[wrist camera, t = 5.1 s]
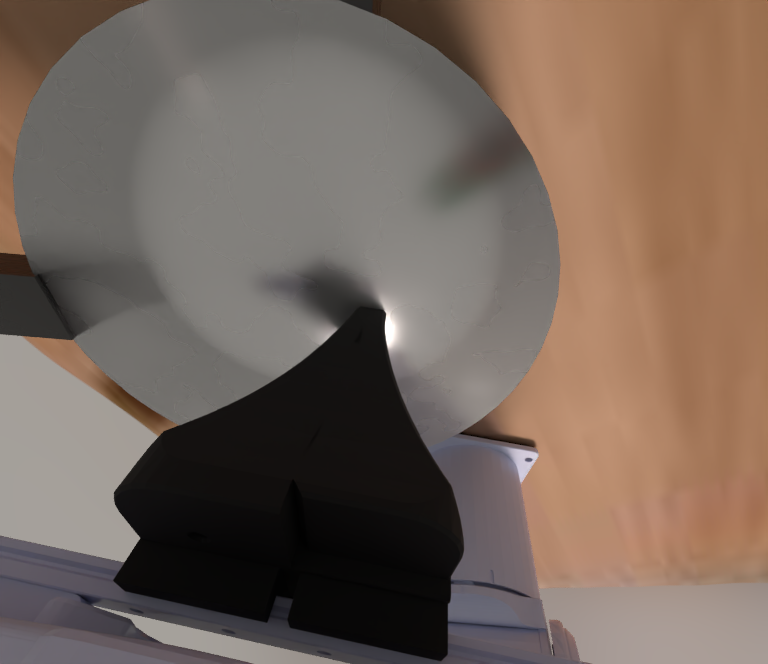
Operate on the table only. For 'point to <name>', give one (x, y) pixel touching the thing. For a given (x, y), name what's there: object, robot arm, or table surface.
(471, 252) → the lid
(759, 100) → the table surface
